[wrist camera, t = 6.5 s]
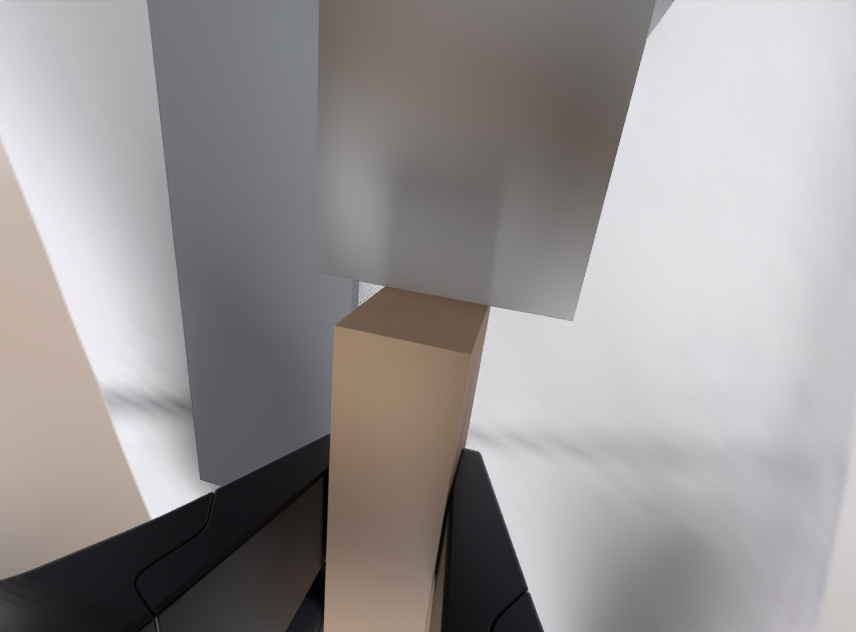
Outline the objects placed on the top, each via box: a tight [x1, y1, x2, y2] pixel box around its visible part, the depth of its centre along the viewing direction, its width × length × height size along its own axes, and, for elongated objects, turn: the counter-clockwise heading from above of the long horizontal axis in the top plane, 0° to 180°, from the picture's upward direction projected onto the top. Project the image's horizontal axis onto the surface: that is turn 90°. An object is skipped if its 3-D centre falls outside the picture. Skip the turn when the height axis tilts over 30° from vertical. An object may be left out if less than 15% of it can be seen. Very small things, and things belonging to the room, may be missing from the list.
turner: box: [315, 0, 656, 632], centre depth 7 cm, size 14×5×3 cm, turn 173°
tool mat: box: [147, 0, 358, 486], centre depth 17 cm, size 22×8×1 cm, turn 174°
